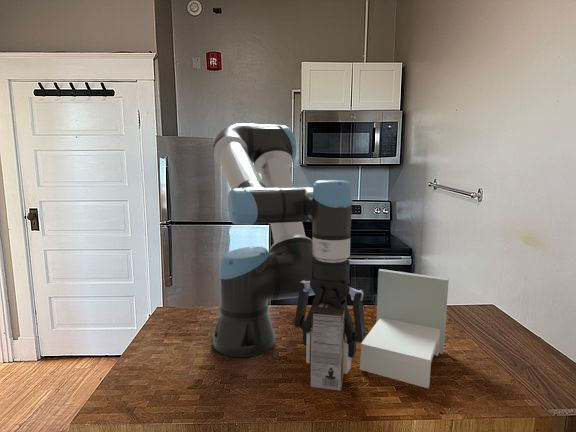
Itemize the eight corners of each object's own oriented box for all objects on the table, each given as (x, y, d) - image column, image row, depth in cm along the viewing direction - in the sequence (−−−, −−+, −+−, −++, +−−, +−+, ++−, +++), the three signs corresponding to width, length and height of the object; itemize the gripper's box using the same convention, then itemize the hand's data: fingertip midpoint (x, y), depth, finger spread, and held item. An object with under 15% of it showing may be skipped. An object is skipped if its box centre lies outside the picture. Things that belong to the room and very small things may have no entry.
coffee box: (315, 363, 83) (317, 294, 81) (344, 367, 82) (346, 296, 79) (309, 387, 74) (310, 310, 72) (342, 391, 73) (344, 313, 71)
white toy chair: (355, 368, 81) (358, 288, 79) (377, 336, 96) (380, 269, 94) (433, 389, 74) (439, 302, 71) (443, 351, 89) (448, 278, 86)
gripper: (277, 255, 76) (276, 360, 79) (376, 269, 66) (371, 388, 69) (294, 248, 82) (293, 345, 86) (386, 260, 73) (381, 369, 76)
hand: (328, 364), depth 78 cm, fingers closed on coffee box, 7 cm apart
